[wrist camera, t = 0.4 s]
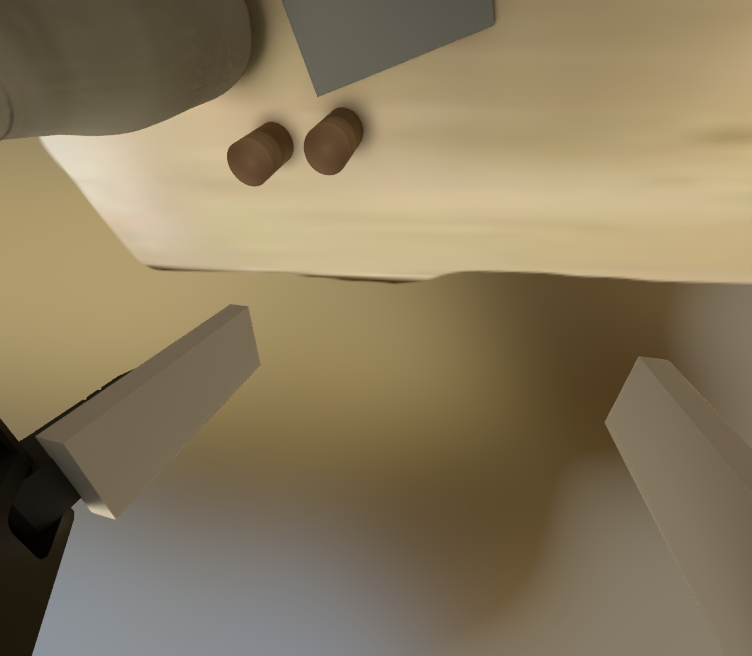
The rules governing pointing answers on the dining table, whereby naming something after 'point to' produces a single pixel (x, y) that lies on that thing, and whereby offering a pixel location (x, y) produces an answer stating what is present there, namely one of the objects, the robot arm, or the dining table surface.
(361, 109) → the dining table surface
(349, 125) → the cylinder
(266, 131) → the cylinder
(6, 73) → the grey ceramic vase
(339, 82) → the mat
